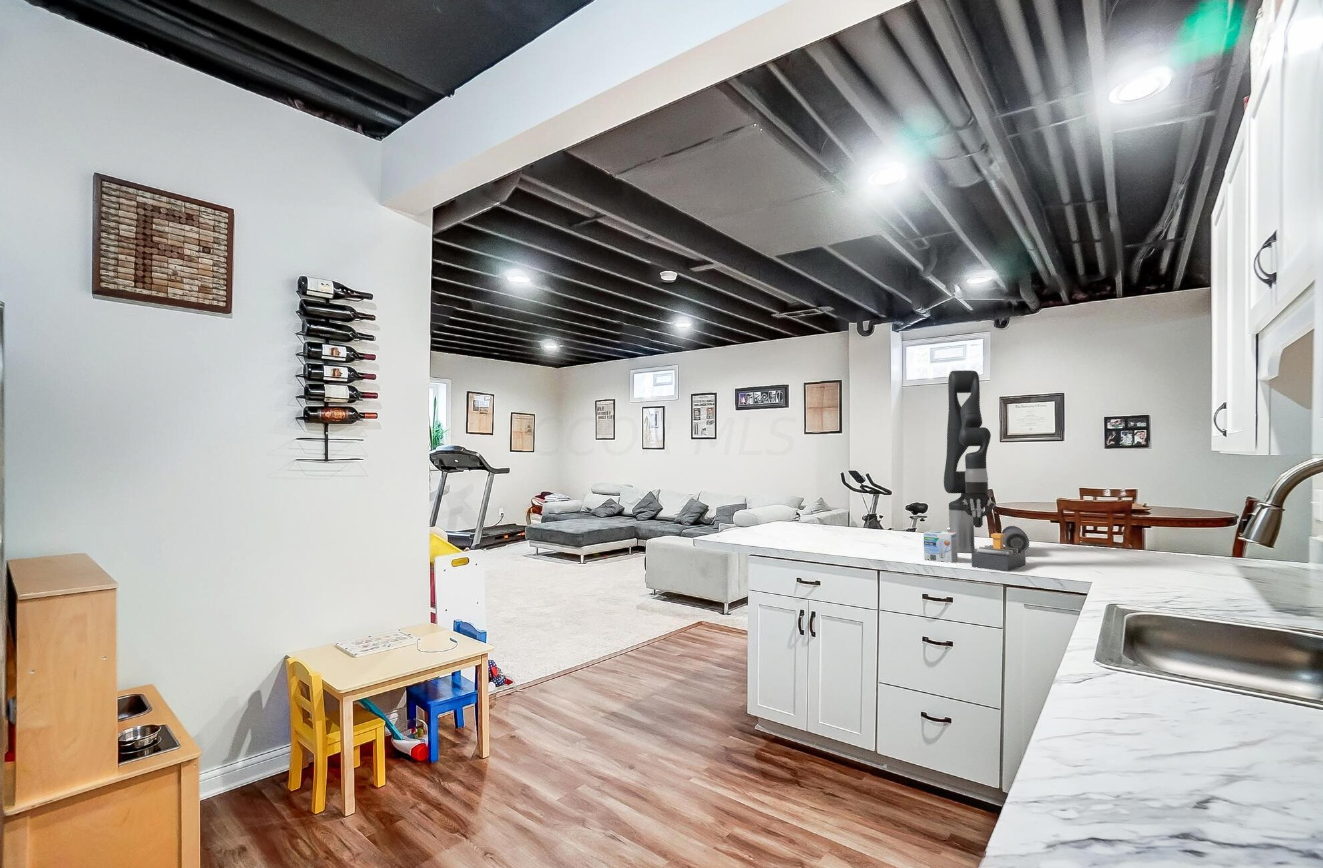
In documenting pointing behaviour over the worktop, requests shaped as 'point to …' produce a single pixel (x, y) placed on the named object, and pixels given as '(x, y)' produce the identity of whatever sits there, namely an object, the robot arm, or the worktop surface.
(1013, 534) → the bluetooth speaker
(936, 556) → the light bulb box
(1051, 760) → the worktop surface
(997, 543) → the breaker handle
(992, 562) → the breaker box
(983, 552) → the dressed cables
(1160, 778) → the worktop surface
